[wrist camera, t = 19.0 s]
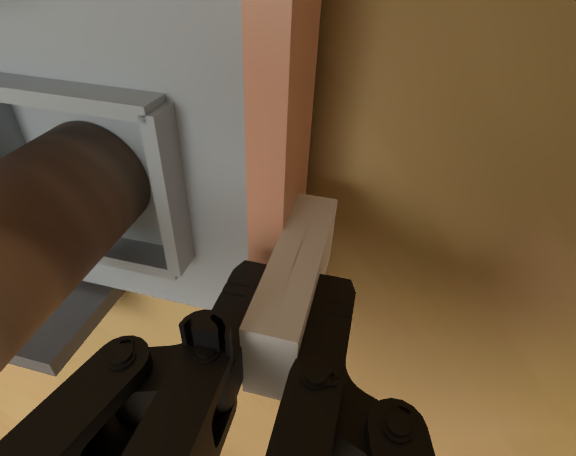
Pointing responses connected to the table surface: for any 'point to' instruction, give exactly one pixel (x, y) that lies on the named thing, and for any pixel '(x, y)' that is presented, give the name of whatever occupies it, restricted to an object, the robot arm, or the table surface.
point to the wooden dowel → (60, 220)
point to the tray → (175, 121)
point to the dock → (67, 328)
